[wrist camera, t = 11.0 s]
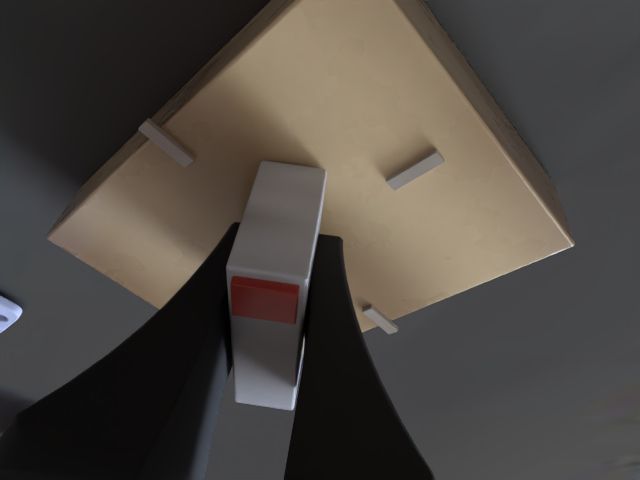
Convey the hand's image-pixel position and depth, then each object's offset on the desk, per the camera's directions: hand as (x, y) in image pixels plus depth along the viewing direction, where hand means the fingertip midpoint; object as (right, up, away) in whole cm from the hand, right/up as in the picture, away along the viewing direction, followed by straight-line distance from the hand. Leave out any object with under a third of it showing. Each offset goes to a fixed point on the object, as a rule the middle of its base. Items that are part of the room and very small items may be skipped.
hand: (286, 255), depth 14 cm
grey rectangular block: (0, 0, 0) cm, 0 cm away
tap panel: (0, +2, +2) cm, 3 cm away
